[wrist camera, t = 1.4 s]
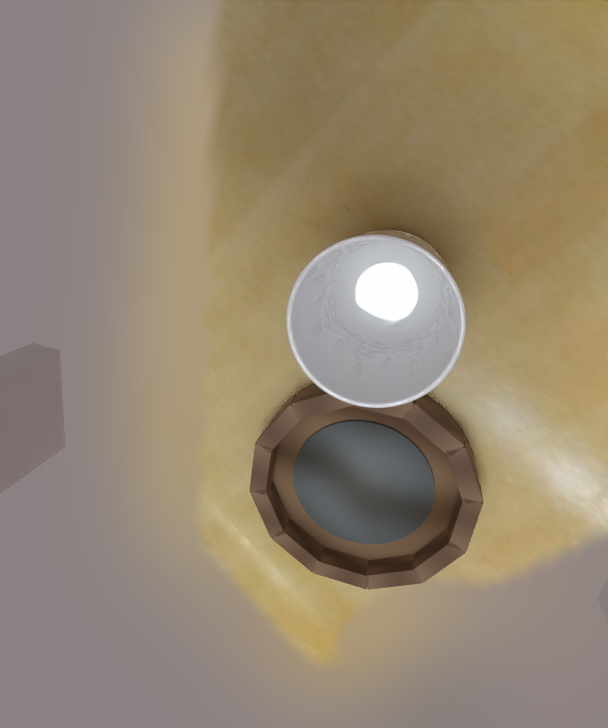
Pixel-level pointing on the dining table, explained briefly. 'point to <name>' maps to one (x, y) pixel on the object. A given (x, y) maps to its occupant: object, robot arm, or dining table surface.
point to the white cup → (376, 319)
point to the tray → (366, 488)
